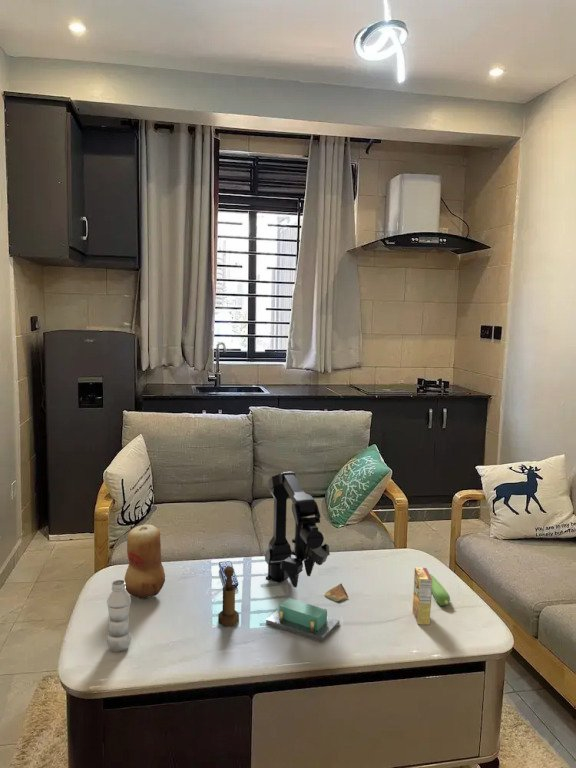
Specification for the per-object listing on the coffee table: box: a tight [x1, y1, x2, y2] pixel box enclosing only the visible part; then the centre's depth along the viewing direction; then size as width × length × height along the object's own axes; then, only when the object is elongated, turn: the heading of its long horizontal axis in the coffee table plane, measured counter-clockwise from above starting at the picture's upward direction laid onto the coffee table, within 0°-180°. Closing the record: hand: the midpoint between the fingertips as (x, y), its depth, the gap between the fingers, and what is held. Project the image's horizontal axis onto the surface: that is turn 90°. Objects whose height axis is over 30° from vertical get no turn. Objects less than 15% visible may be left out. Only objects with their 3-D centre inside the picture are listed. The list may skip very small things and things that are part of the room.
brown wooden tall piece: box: [217, 566, 240, 627], centre depth 180 cm, size 7×6×18 cm
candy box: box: [412, 567, 433, 626], centre depth 185 cm, size 9×4×15 cm, turn 0°
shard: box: [324, 582, 349, 602], centre depth 201 cm, size 11×8×2 cm
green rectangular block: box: [278, 597, 328, 630], centre depth 180 cm, size 14×6×4 cm, turn 59°
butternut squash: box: [124, 524, 166, 600], centre depth 195 cm, size 14×13×25 cm
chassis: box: [265, 608, 340, 643], centre depth 180 cm, size 20×12×4 cm, turn 60°
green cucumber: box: [429, 573, 451, 607], centre depth 201 cm, size 5×20×5 cm
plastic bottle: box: [106, 579, 132, 653], centre depth 164 cm, size 6×7×20 cm
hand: (301, 581), depth 187 cm, fingers open, 9 cm apart
